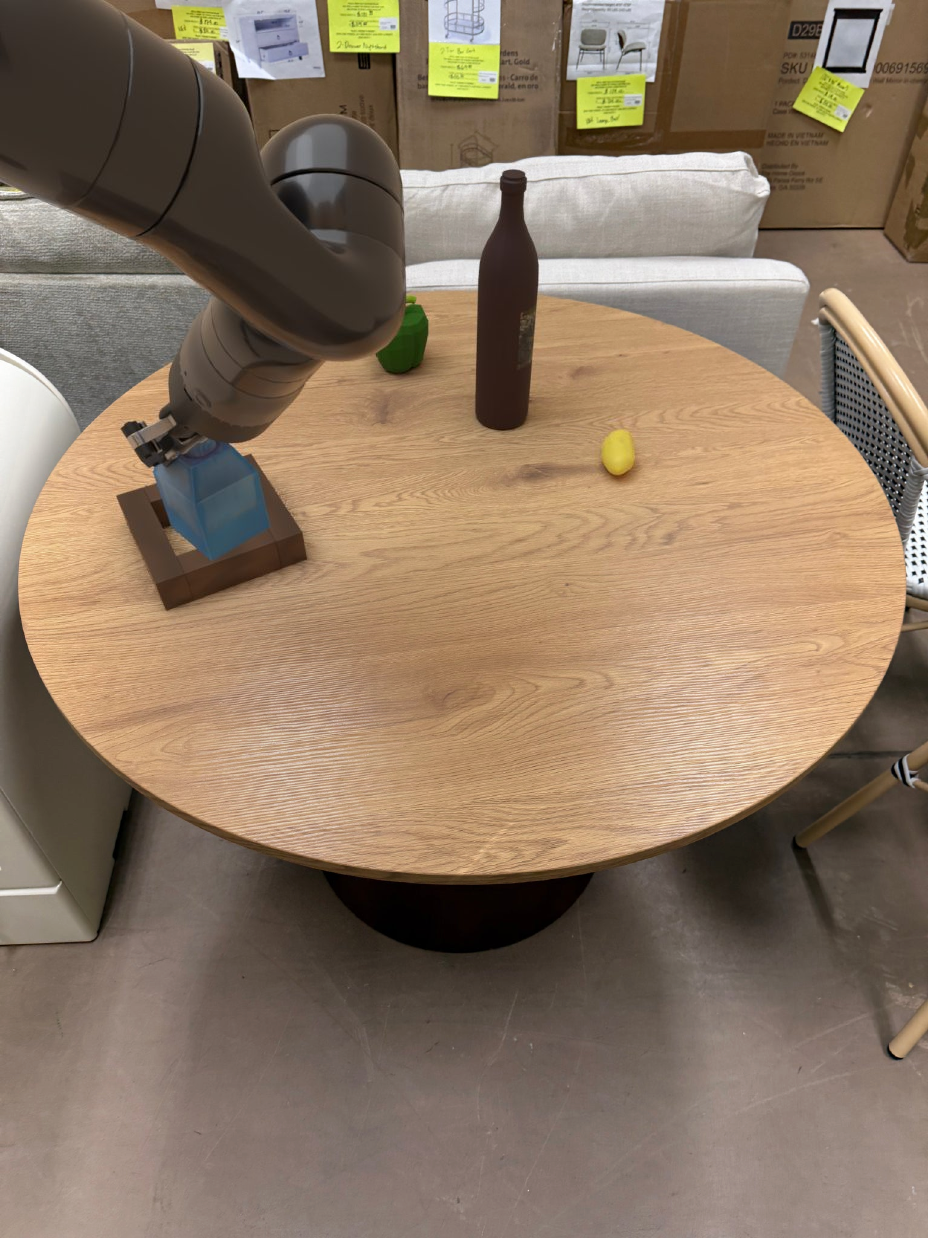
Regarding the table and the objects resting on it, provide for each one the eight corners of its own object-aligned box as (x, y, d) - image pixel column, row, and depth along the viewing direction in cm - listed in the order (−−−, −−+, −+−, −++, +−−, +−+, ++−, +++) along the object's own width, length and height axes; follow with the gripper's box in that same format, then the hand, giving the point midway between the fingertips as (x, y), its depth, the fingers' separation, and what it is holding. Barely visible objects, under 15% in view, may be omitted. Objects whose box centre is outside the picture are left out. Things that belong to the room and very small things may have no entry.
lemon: (635, 447, 104) (640, 422, 101) (630, 486, 99) (635, 460, 96) (602, 443, 104) (607, 417, 101) (595, 481, 99) (599, 455, 96)
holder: (165, 610, 84) (155, 583, 81) (126, 522, 93) (115, 495, 90) (307, 558, 90) (302, 531, 87) (257, 480, 99) (251, 453, 96)
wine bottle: (518, 435, 105) (536, 190, 83) (467, 424, 107) (471, 180, 85) (534, 406, 110) (555, 166, 87) (485, 396, 111) (493, 157, 89)
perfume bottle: (270, 526, 73) (244, 411, 64) (211, 561, 70) (175, 444, 61) (229, 495, 75) (199, 381, 67) (171, 527, 72) (132, 411, 64)
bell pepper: (362, 373, 115) (355, 306, 107) (382, 345, 120) (378, 278, 113) (418, 383, 113) (415, 316, 106) (436, 354, 118) (435, 287, 111)
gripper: (298, 279, 55) (234, 370, 70) (106, 355, 49) (80, 438, 64) (355, 379, 57) (280, 447, 72) (176, 466, 50) (134, 522, 65)
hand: (186, 442), depth 67 cm, fingers closed on perfume bottle, 4 cm apart
